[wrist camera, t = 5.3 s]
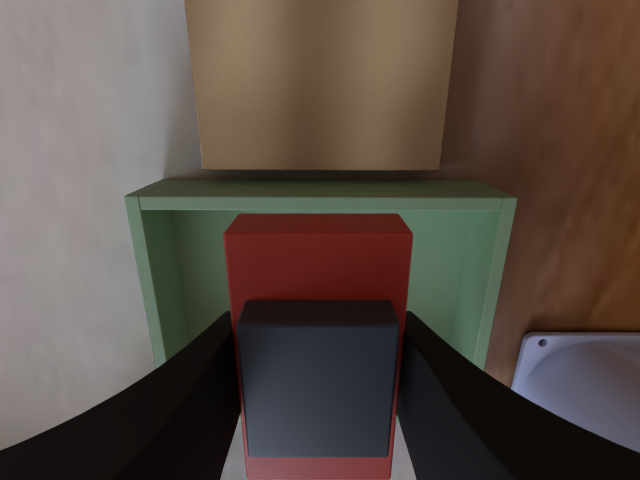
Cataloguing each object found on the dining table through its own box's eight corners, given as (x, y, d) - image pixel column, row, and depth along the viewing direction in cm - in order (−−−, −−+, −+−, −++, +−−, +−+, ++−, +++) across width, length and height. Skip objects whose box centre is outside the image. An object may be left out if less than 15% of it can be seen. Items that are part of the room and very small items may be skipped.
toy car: (394, 207, 10) (428, 251, 7) (379, 419, 13) (398, 519, 10) (242, 207, 10) (207, 250, 7) (258, 419, 13) (238, 519, 10)
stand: (450, -24, 15) (463, -37, 14) (430, 166, 18) (439, 170, 17) (192, -25, 15) (179, -38, 14) (211, 165, 18) (202, 170, 17)
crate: (480, 180, 18) (518, 197, 15) (449, 374, 23) (473, 424, 19) (161, 178, 18) (123, 195, 15) (190, 373, 23) (165, 423, 19)
